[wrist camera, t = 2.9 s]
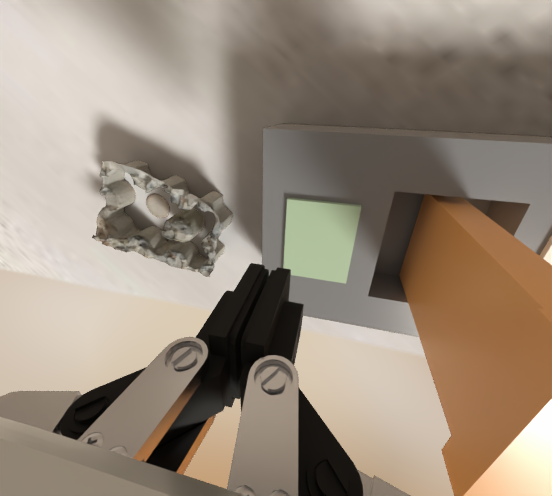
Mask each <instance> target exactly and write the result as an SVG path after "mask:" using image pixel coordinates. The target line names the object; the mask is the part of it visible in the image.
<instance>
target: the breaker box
mask: <svg viewBox="0 0 552 496" xmlns="http://www.w3.org/2000/svg"><path fill="white" fill-rule="evenodd" d="M424 194H429V195H440V196H451V197H462V198H464V199H465V200H466V201H468V202H469V203H470V204H472V205H473V206H474V207H476V208H477V209H478V210H480V211H481V212H482V213H484V214H485V215H486V216H487V217H489V218H490V219H491V220H493V221H494V222H495V223H497V224H498V225H499V226H501V227H502V228H503V229H505V230H506V231H507V232H509V233H510V234H511V235H513V236H514V237H515V238H517V239H518V240H519V241H521V242H522V243H523V244H524V245H526V246H527V247H528V248H530V249H531V250H532V251H534V252H535V253H536V254H538V255H539V256H540V257H542V258H543V259H544V260H546V261H547V262H548V263H550V264H551V265H552V137H547V136H527V135H507V134H486V133H466V132H446V131H426V130H405V129H385V128H365V127H345V126H324V125H304V124H284V123H283V124H279V125H275V126H270V127H266V128H263V202H262V265H264V266H265V269H268V270H269V275H270V273H271V271H272V270H276V269H277V267H279V268H285V269H291V276H290V290H289V301H290V302H295V303H301V304H304V308H303V316H309V317H314V318H319V319H325V320H330V321H335V322H341V323H346V324H351V325H357V326H362V327H368V328H373V329H378V330H384V331H389V332H394V333H400V334H405V335H410V336H416V337H419V334H418V331H417V328H416V325H415V322H414V319H413V316H412V313H411V310H410V307H409V304H408V301H407V297H406V294H405V291H404V288H403V285H402V282H401V279H400V276H399V274H400V270H401V267H402V264H403V261H404V258H405V255H406V251H407V248H408V245H409V242H410V239H411V236H412V232H413V229H414V226H415V223H416V220H417V217H418V213H419V210H420V207H421V204H422V201H423V198H424Z"/></svg>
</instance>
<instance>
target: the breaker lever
mask: <svg viewBox="0 0 552 496" xmlns="http://www.w3.org/2000/svg"><path fill="white" fill-rule="evenodd" d="M399 276H400V279H401V282H402V285H403V288H404V291H405V294H406V297H407V301H408V304H409V307H410V310H411V313H412V316H413V319H414V322H415V325H416V328H417V331H418V334H419V337H420V340H421V343H422V347H423V350H424V353H425V356H426V359H427V362H428V365H429V368H430V371H431V374H432V377H433V380H434V383H435V386H436V389H437V392H438V396H439V399H440V402H441V405H442V408H443V411H444V414H445V417H446V420H447V423H448V426H449V429H450V432H451V437H450V438H449V440H448V441H447V443H446V444H445V446H444V448H443V449H442V454H443V457H444V461H445V464H446V468H447V471H448V475H449V478H450V482H451V485H452V489H453V492H454V496H552V265H551V264H550V263H548V262H547V261H546V260H544V259H543V258H542V257H540V256H539V255H538V254H536V253H535V252H534V251H532V250H531V249H530V248H528V247H527V246H526V245H524V244H523V243H522V242H521V241H519V240H518V239H517V238H515V237H514V236H513V235H511V234H510V233H509V232H507V231H506V230H505V229H503V228H502V227H501V226H499V225H498V224H497V223H495V222H494V221H493V220H491V219H490V218H489V217H487V216H486V215H485V214H484V213H482V212H481V211H480V210H478V209H477V208H476V207H474V206H473V205H472V204H470V203H469V202H468V201H466V200H465V199H464V198H462V197H451V196H440V195H429V194H424V198H423V201H422V204H421V207H420V210H419V213H418V217H417V220H416V223H415V226H414V229H413V232H412V236H411V239H410V242H409V245H408V248H407V251H406V255H405V258H404V261H403V264H402V267H401V270H400V274H399Z"/></svg>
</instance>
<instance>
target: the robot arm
mask: <svg viewBox="0 0 552 496" xmlns="http://www.w3.org/2000/svg"><path fill="white" fill-rule="evenodd" d="M290 276H291V269H285V268H279V267H277V269H276V270H272V271H271V273H270V275H269V270H268V269H265V266H264V265H259V264H253V263H251V264H250V265H249V267H248V269H247V270H246V272H245V274H244V275H243V277H242V279H241V280H240V282H239V284H238V285H237V287H236V289H235V290H234V292H233V291H226V292H225V293H224V295H223V296H222V298H221V299H220V301H219V302H218V304H217V305H216V307H215V309H214V310H213V312H212V313H211V315H210V316H209V318H208V319H207V321H206V323H205V324H204V326H203V327H202V329H201V330H200V332H199V333H198V335H197V336H196V338H194V337H186V338H182V339H178V340H176V341H174V342H172V343H171V344H169V345H168V346H167V347H166V348H165V349H164V350H163V351H162V352H161V353H160V354H159V355H158V356H157V357H156V358H155V359H154V360H153V361H152V362H151V363H150V365H148V367H146V368H144V369H142V370H139V371H136V372H134V373H132V374H129V375H127V376H124V377H122V378H120V379H117V380H115V381H112V382H110V383H107V384H106V385H103V386H100V387H98V388H95V389H93V390H91V391H89V392H87V393H85V394H83V395H81V394H80V392H79V391H74V392H73V391H18V392H11V393H8V394H6V395H3V396H1V397H0V496H410V495H408V494H407V493H405V492H403V491H401V490H399V489H398V488H396V487H394V486H392V485H390V484H389V483H387V482H385V481H383V480H381V479H380V478H378V477H376V476H374V477H373V478H371V477H369V476H367V475H366V474H364V473H362V472H360V471H359V470H357V469H356V467H355V465H354V463H353V462H352V460H351V459H350V458H349V456H348V455H347V453H346V452H345V451H344V449H343V448H342V447H341V445H340V444H339V443H338V441H337V440H336V438H335V437H334V436H333V434H332V433H331V432H330V430H329V429H328V427H327V426H326V425H325V423H324V422H323V420H322V419H321V418H320V416H319V415H318V414H317V412H316V411H315V409H314V408H313V407H312V405H311V404H310V402H309V401H308V400H307V398H306V397H305V395H304V394H303V393H302V391H301V390H300V389H299V387H298V373H297V370H296V368H295V366H294V363H295V358H296V353H297V347H298V342H299V337H300V331H301V325H302V317H303V308H304V304H301V303H295V302H290V301H289V290H290ZM240 397H241V417H240V423H239V428H238V434H237V439H236V444H235V450H234V454H233V460H232V465H231V471H230V476H229V481H228V486H227V489H224V488H221V487H218V486H215V485H212V484H209V483H206V482H203V481H200V480H197V479H194V478H191V477H188V476H185V475H183V474H184V472H185V471H186V469H187V467H188V465H189V464H190V462H191V460H192V458H193V457H194V455H195V453H196V451H197V450H198V448H199V446H200V444H201V443H202V441H203V439H204V437H205V436H206V434H207V432H208V431H209V429H210V427H211V425H212V424H213V421H214V419H215V416H216V414H217V413H219V412H221V411H223V409H224V407H225V406H228V407H232V405H233V402H234V399H235V398H237V399H240Z"/></svg>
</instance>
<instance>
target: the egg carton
mask: <svg viewBox="0 0 552 496" xmlns="http://www.w3.org/2000/svg"><path fill="white" fill-rule="evenodd" d="M125 172H127V173H129V174H130V175H131V177H132V179H133V181H134V185H137V186H139V187H140V188H142V189H144V190H146V193H148V192H150V191H152V190H154V189H156V188H158V187H162V188H163V189H164V191H165V192H166V193H169V194H170V195H171V202H172V203H177V204H178V208H179V209H185V210H183V211H181V212H179V213H178V214H176V215H174V216H173V217H171V218H170V219H168V220H167V221H166V222H165V225H164V229H163V230H161V229H159V228H157V227H154V226H150V227H147V228H146V229H144V230H139V229H137V228H136V227H135V225H134V222H133V221H132V219H131V218H130V217H129V216H128V215H127V214H125V213H124V207H125V206H127V205H130V204H132V203H133V202H134V201H135V199H136V195H135V191H134V189H133V187H132V186H131V184H130V183H128V182H127V181H126V180H125V179H124V176H125ZM100 177H102V179H103V185H102V188H101V190H100V194H101V195H106V206H105V207H104V208H103V209H102V210H101V211H100V212H99V214H98V217H97V231H96V236H94V235H93V237H92V238H94V239H95V240H97V241H101V242H102V244H104V245H106V246H111V247H113V248H114V249H117V250H121V251H125V252H131V251H135V252H138V253H140V254H141V255H143V256H144V257H146V258H154V259H156V260H159V261H162V262H165V263H167V264H168V265H170V266H172V267H177V268H181V269H187V270H191V271H198V272H200V273H201V274H202V275H204V276H206V277H209V275H210V273H211V272H212V271H213V268H214V263H215V262H216V261H217V259H218V258H219V257H220V256H221V255H222V254H223V252H224V248H225V245H223V244H222V243H221V242H220V241H219V240H218V239H217V238H218V237H219V236H220V234H221V232H222V231H223V230H224V229H225V228H226V227H227V226H228V225H229V224H230V223H231V221H232V217H233V213H232V212H230V211H229V210H228V209H227V208H226V206H225V204H224V201H223V195H222V194H220V193H217V192H215V191H211V192H210V193H208V194H207V195H205V196H204V197H202V198H198V197H197V196H195V195H192V194H191V193H190V192H189V191H188V189H187V186H186V180H185V179H183V178H181V177H178V176H172V177H170V178H167V179H166V180H162V181H160V180H158V179H156V178H154V177H152V175H151V174H150V171H149V167H148V164H146V163H144V162H142V161H139V160H136V161H133V162H130V163H127V164H123V165H122V164H119V163H116V162H112V161H102V169H101V173H100ZM164 186H167V188H164ZM196 204H198V208H200V209H201V211H202V212H206V211H210V212H213V213H214V216H215V218H216V221H215V225H214V227H213V229H212V231H211V232H210V233H209V234H208V235H207V236H206V237H205V238H204V239H203V240H202V243H201V246H202V248H205V250H204V251H205V253H206V254H207V255H208V256H209V258H205V257H202V256H201V255H199V251H198V249H197V247H196V245H195V244H194V243H192V242H191V241H190V240H191V239H192V238H194V237H195V236H196V235H197V234H198V233H199V232H200V231H202V230H203V228H204V226H205V221H204V218H203V216H202V214H201V213H200V212H199V211H197V210H196V209H193V207H194V206H195V205H196ZM147 207H148V209H149V211H150V212H151V213H152V214H153V215H154V216H156V217H158V218H165V217H167V216H168V215H169V212H170V207H169V204H168V202H167V201H166V200H165V199H164V198H163V197H162V196H160V195H158V194H152V195H150V196H148V198H147ZM200 234H201V233H200ZM167 239H168V240H176V241H179V242H178V243H176V244H175V243H171V242H167Z"/></svg>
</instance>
